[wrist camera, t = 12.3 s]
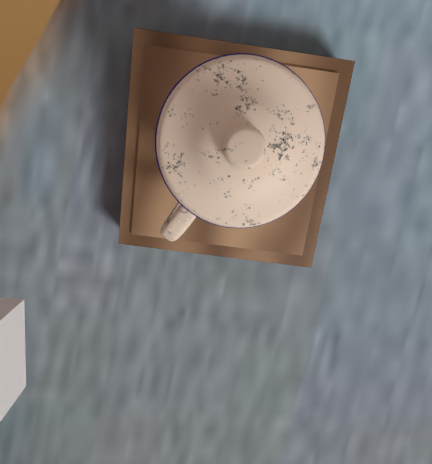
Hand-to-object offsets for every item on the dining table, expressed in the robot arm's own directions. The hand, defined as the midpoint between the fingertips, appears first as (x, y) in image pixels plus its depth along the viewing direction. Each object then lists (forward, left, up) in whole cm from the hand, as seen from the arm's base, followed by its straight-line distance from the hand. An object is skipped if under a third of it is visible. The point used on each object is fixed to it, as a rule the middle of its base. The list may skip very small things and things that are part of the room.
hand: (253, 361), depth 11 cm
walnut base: (0, +5, -23) cm, 23 cm away
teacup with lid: (-1, +4, -20) cm, 20 cm away
